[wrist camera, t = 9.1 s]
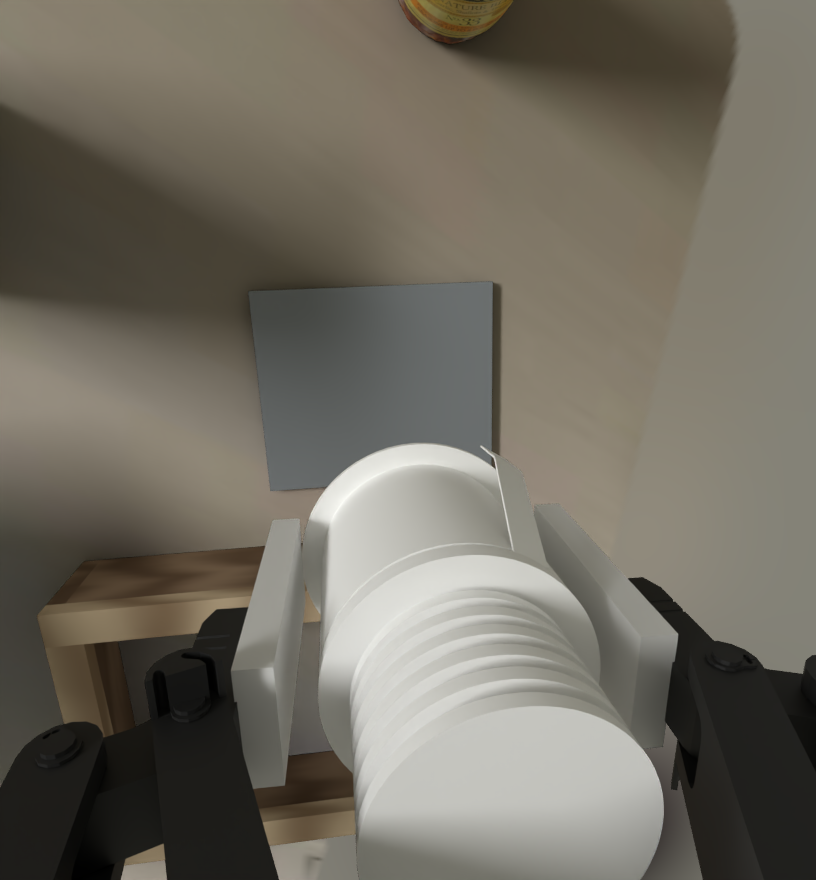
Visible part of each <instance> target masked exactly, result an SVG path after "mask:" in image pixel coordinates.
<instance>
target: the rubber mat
mask: <svg viewBox="0 0 816 880" xmlns="http://www.w3.org/2000/svg"><path fill="white" fill-rule="evenodd" d="M248 294H249V303H250V312H251V321H252V330H253V339H254V348H255V357H256V366H257V375H258V384H259V393H260V402H261V411H262V420H263V429H264V438H265V447H266V456H267V465H268V474H269V483H270V491H278V490H291V489H305V488H318V487H328V486H329V485H330V484H331V483H332V481H333V480H334V479H335V478H336V477H337V476H338V475H340V474H341V473H342V472H343V471H344V470H346V469H347V468H348V467H350V466H351V465H352V464H354V463H355V462H357V461H359V460H360V459H362V458H364V457H366V456H368V455H370V454H372V453H374V452H377V451H379V450H382V449H385V448H388V447H392V446H397V445H402V444H409V443H437V444H443V445H448V446H452V447H456V448H459V449H462V450H465V451H467V452H469V453H472V454H474V455H476V456H478V457H479V458H481V459H483V460H484V461H486V462H487V463H489V464H490V465H491V457H492V456H491V455H490V454H488V453H487V452H486V451H485V450H483V449H482V448H481V447H480V446H483V447H485V448H487V449H488V450H490V451H492V299H493V282H491V281H488V282H463V283H438V284H413V285H388V286H364V287H339V288H314V289H289V290H264V291H248Z"/></svg>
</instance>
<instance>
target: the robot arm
mask: <svg viewBox="0 0 816 880" xmlns="http://www.w3.org/2000/svg"><path fill="white" fill-rule="evenodd" d="M534 517H535V521H536V525H537V528H538V532H539V536H540V539H541V543H542V547H543V551H544V554H545V558H546V562H547V563H548V564H549V565H550V567H551V568H552V569H553V570H554V572H555V573H556V574H557V575H558V576H559V578H560V579H561V580H562V581H563V583H564V584H565V585H566V586H567V588H568V589H569V590H570V591H571V593H572V594H573V595H574V596H575V597H576V599H577V600H578V601H579V602H580V604H581V605H582V607H583V608H584V610H585V611H586V613H587V615H588V617H589V619H590V621H591V622H592V625H593V628H594V630H595V633H596V637H597V641H598V645H599V652H600V680H599V686H600V688H601V689H602V690H603V692H604V693H605V695H606V696H607V698H608V699H609V701H610V702H611V703H612V705H613V707H614V708H615V709H616V711H617V712H618V714H619V715H620V717H621V718H622V720H623V721H624V722H625V724H626V725H627V727H628V728H629V730H630V731H631V733H632V735H633V736H634V737H635V739H636V740H637V742H638V743H639V744H640V746H641V747H642V749H648V748H658V747H663V742H664V735H665V727H666V723H667V725H668V726H669V728H670V729H671V730H672V732H673V733H674V735H675V736H676V737H677V739H678V740H677V747H676V753H675V760H674V767H673V774H672V782H671V789H674V790H677V787H678V781H679V780H680V781H681V785H682V790H683V794H684V798H685V803H686V807H687V812H688V816H689V820H690V825H691V829H692V834H693V838H694V842H695V846H696V851H697V855H698V860H699V864H700V868H701V873H702V877H703V880H816V655H812V656H811V657H809V658H808V659H807V660H806V662H805V667H804V671H803V674H798V673H791V672H783V671H776V670H769V669H764V667H763V666H762V664H761V663H760V662H759V661H758V659H757V658H756V657H755V656H753V655H752V654H750V653H749V652H747V651H746V650H744V649H742V648H739V647H737V646H735V645H732V644H728V643H724V642H720V641H714V640H712V638H710V636H709V635H708V634H706V632H705V631H704V630H703V629H702V628H701V627H700V626H699V625H698V624H697V623H696V622H695V621H694V620H693V619H692V618H691V617H690V616H689V615H688V614H687V613H686V612H683V610H682V608H681V607H680V606H679V605H678V604H677V603H676V602H673V599H672V598H671V597H670V596H669V595H668V594H667V593H666V592H665V591H664V590H663V589H662V588H661V587H659V586H657V585H656V584H654V583H652V582H650V581H648V580H647V579H644V578H643V577H641V578H627V577H626V576H625V575H624V574H623V573H622V572H621V571H620V570H619V569H618V568H617V566H616V565H615V564H614V563H613V562H612V561H611V560H610V559H609V558H608V557H607V556H606V554H605V553H604V552H603V551H602V550H601V549H600V548H599V547H598V546H597V545H596V543H595V542H594V541H593V540H592V539H591V538H590V537H589V536H588V535H587V534H586V533H585V531H584V530H583V529H582V528H581V527H580V526H579V525H578V524H577V523H576V522H575V521H574V519H573V518H572V517H571V516H570V515H569V514H568V513H567V512H566V511H565V510H564V508H563V507H562V506H561V505H560V504H541V505H535V507H534ZM305 602H306V600H305V587H304V573H303V560H302V547H301V534H300V520H299V518H298V519H281V520H273V521H272V525H271V528H270V532H269V535H268V539H267V543H266V546H265V550H264V553H263V557H262V560H261V564H260V568H259V571H258V575H257V578H256V582H255V586H254V589H253V593H252V596H251V600H250V603H249V607H242V608H228V609H216V610H215V611H214V612H213V613H212V614H211V615H210V616H209V617H208V618H207V619H206V620H205V621H204V622H203V623H202V625H201V628H200V630H199V633H198V635H197V640H195V643H194V645H193V648H189V649H183V650H179V651H176V652H174V653H171V654H169V655H166V656H165V657H163V658H162V659H160V660H159V661H157V662H156V663H154V665H153V666H152V667H151V668H150V670H149V671H148V672H147V674H146V678H145V688H146V693H147V699H148V705H149V711H150V716H151V720H149V721H147V722H145V723H144V724H142V725H139V726H137V727H134V728H132V729H129V730H126V731H123V732H120V733H116V734H113V735H110V736H107V737H103V733H102V731H101V730H100V728H99V727H98V726H97V725H95V724H92V723H90V722H87V721H84V722H70V723H66V724H63V725H59V726H55V727H53V728H51V729H50V730H48V731H46V732H44V733H42V734H40V735H38V736H37V737H36V738H34V739H33V740H32V741H31V742H29V743H28V744H27V745H25V747H24V748H23V749H22V750H21V752H20V753H19V754H18V756H17V757H16V758H15V760H14V762H13V764H12V766H11V768H10V770H9V772H8V774H7V776H6V778H5V780H4V781H3V783H2V785H1V787H0V880H121V876H122V872H123V867H124V863H125V859H127V858H129V857H132V856H134V855H137V854H139V853H142V852H144V851H147V850H149V849H152V848H154V847H157V846H159V845H161V844H164V853H165V863H166V873H167V880H279V878H278V875H277V871H276V868H275V864H274V860H273V857H272V853H271V850H270V846H269V843H268V839H267V836H266V832H265V829H264V825H263V822H262V818H261V815H260V811H259V808H258V804H257V801H256V797H255V794H254V790H253V789H256V788H266V787H276V786H285V780H286V771H287V762H288V753H289V744H290V735H291V726H292V717H293V708H294V700H295V691H296V682H297V673H298V664H299V655H300V646H301V637H302V628H303V619H304V611H305Z"/></svg>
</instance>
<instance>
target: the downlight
mask: <svg viewBox="0 0 816 880" xmlns="http://www.w3.org/2000/svg"><path fill="white" fill-rule="evenodd" d="M480 447H481V448H482V449H483V450H485V451H486V452H487V453H488V454H490V455H491V456H492V457H493V458H494V461H495V466H496V469H495V468H494V467H492V466H491V465H490V464H489V463H487V462H486V461H484V460H483V459H481V458H479V457H478V456H476V455H474V454H472V453H469V452H467V451H465V450H462V449H459V448H456V447H452V446H448V445H443V444H437V443H409V444H402V445H397V446H392V447H388V448H385V449H382V450H379V451H377V452H374V453H372V454H370V455H368V456H366V457H364V458H362V459H360V460H359V461H357V462H355V463H354V464H352V465H351V466H350V467H348V468H347V469H346V470H344V471H343V472H342V473H341V474H340V475H338V476H337V477H336V478H335V479H334V480H333V481H332V483H331V484H330V485H329V486H328V487H327V488H326V490H325V491H324V492H323V493H322V495H321V496H320V498H319V500H318V501H317V503H316V505H315V507H314V508H313V510H312V512H311V515H310V517H309V520H308V523H307V526H306V530H305V533H304V539H303V545H302V560H303V573H304V580H305V584H306V588H307V591H308V593H309V595H310V598H311V600H312V602H313V604H314V606H315V607H316V609H317V610H318V612H319V613H320V615H321V617H320V648H319V679H318V708H319V714H320V720H321V723H322V726H323V730H324V732H325V735H326V737H327V739H328V742H329V744H330V745H331V747H332V749H333V751H334V752H335V754H336V755H337V756H338V758H339V759H340V760H341V762H342V763H343V764H344V765H345V766H346V767H347V768H348V769H349V771H350V772H352V773H353V790H354V810H355V832H356V853H357V871H358V877H359V880H640V879H641V878H642V877H643V875H644V873H645V872H646V870H647V868H648V867H649V864H650V862H651V860H652V858H653V856H654V854H655V851H656V849H657V846H658V843H659V840H660V835H661V831H662V825H663V817H664V804H663V794H662V789H661V785H660V781H659V778H658V776H657V773H656V770H655V768H654V766H653V764H652V763H651V761H650V759H649V758H648V756H647V755H646V753H645V752H644V750H643V749H642V747H641V746H640V744H639V743H638V742H637V740H636V739H635V737H634V736H633V735H632V733H631V731H630V730H629V728H628V727H627V725H626V724H625V722H624V721H623V720H622V718H621V717H620V715H619V714H618V712H617V711H616V709H615V708H614V707H613V705H612V703H611V702H610V701H609V699H608V698H607V696H606V695H605V693H604V692H603V690H602V689H601V688H600V686H599V680H600V652H599V645H598V641H597V637H596V633H595V630H594V628H593V625H592V622H591V621H590V619H589V617H588V615H587V613H586V611H585V610H584V608H583V607H582V605H581V604H580V602H579V601H578V600H577V599H576V597H575V596H574V595H573V594H572V593H571V591H570V590H569V589H568V588H567V586H566V585H565V584H564V583H563V581H562V580H561V579H560V578H559V576H558V575H557V574H556V573H555V572H554V570H553V569H552V568H551V567H550V565H549V564H548V563H547V562H546V558H545V554H544V551H543V547H542V543H541V539H540V536H539V532H538V528H537V525H536V521H535V517H534V513H533V510H532V506H531V502H530V499H529V495H528V491H527V487H526V484H525V480H524V476H523V473H522V471H521V470H519V469H518V468H517V467H515V466H514V465H513V464H511V463H510V462H509V461H508V460H506V459H505V458H503V457H501V456H499V455H497V454H496V453H494V452H492V451H490V450H488V449H487V448H485V447H483V446H480Z"/></svg>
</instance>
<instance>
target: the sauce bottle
mask: <svg viewBox="0 0 816 880" xmlns="http://www.w3.org/2000/svg"><path fill="white" fill-rule="evenodd" d="M398 1H399V4H400V6H401V7H402V10H403V12H404V13H405V15H406V17H407V19H408V20H409V21H410V22H411V24H412V25H414V26H415V27H416V28H417V29H418V30H419V31H421V32H422V33H424V34H425V35H427V36H428V37H430V38H433V39H434V40H435V41H438V42H445V43H447V44H452V43H458V42H462V41H465V40H470V39H472V38H474V37H476V36H477V35H479V34H482V33H484V32H485V31H487V30H488V29H489V28H490V27H491V26H493V25H494V24H495V23H496V22H497V21H498V20H499V19H500V18H501V17H502V15H503V14H504V13H505V12H506V10H507V9H508V8H509V6H510V5H511V3H512V2H513V1H514V0H398Z"/></svg>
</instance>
